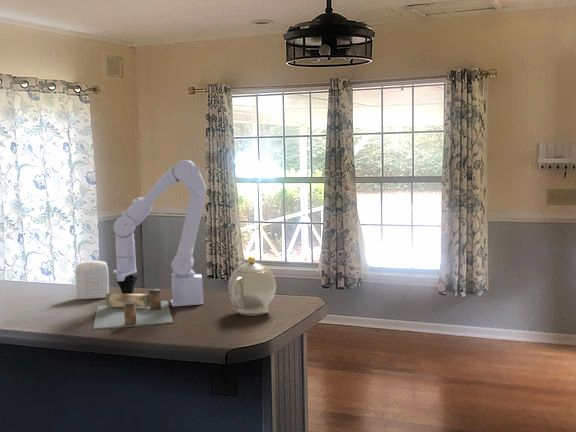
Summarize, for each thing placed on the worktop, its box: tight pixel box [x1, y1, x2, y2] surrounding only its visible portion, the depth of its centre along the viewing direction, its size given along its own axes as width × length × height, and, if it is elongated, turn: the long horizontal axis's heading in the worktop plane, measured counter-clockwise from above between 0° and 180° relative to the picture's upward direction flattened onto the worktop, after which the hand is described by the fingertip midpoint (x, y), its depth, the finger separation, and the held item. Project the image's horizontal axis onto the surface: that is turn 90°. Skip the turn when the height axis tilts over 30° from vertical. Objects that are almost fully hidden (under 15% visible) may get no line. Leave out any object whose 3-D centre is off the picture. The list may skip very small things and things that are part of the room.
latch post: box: [124, 302, 136, 325], centre depth 176 cm, size 3×3×6 cm
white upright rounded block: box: [75, 259, 110, 300], centre depth 211 cm, size 10×4×12 cm, turn 103°
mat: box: [92, 300, 174, 331], centre depth 188 cm, size 21×27×1 cm
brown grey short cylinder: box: [148, 288, 162, 310], centre depth 193 cm, size 3×3×6 cm
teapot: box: [228, 256, 277, 317], centre depth 185 cm, size 18×14×16 cm
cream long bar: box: [105, 292, 150, 307], centre depth 195 cm, size 13×2×4 cm, turn 79°
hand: (128, 299), depth 199 cm, fingers closed
